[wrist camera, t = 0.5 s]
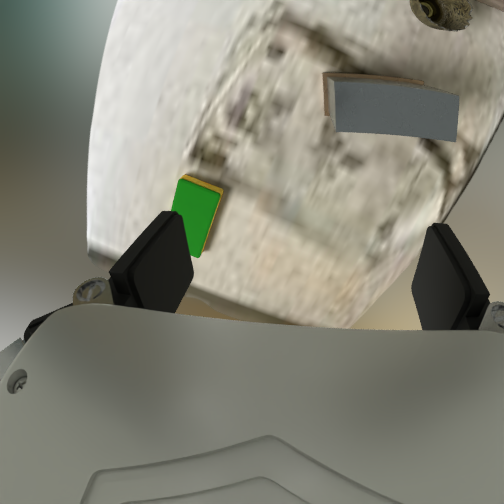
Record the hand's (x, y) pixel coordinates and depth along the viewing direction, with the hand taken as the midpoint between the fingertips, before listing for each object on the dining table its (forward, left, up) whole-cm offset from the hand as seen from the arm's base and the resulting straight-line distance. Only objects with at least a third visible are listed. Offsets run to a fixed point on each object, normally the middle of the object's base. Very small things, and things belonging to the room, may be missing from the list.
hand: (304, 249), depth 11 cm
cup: (-16, +17, -33) cm, 41 cm away
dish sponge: (+17, -20, -34) cm, 42 cm away
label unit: (-2, +9, -33) cm, 34 cm away
